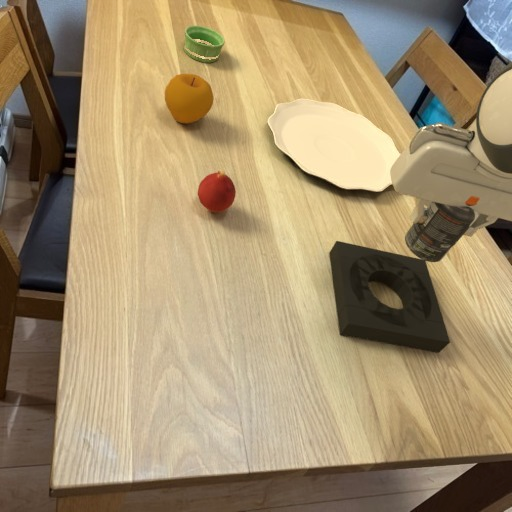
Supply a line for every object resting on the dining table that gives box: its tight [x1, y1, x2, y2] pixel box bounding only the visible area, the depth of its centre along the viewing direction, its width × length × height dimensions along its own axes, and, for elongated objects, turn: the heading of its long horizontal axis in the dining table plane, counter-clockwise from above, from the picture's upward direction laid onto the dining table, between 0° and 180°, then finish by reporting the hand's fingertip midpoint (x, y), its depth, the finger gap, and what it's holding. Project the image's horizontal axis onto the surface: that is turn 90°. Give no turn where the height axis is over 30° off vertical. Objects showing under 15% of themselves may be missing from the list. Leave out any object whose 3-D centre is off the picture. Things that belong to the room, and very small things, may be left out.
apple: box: [164, 73, 215, 124], centre depth 90 cm, size 9×9×9 cm
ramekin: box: [183, 24, 226, 63], centre depth 111 cm, size 9×9×4 cm
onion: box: [197, 170, 237, 213], centre depth 76 cm, size 6×6×8 cm
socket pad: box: [328, 240, 451, 353], centre depth 76 cm, size 16×16×3 cm
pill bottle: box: [404, 196, 480, 263], centre depth 64 cm, size 6×6×11 cm
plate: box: [266, 97, 401, 193], centre depth 101 cm, size 29×29×2 cm
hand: (439, 226), depth 65 cm, fingers closed on pill bottle, 6 cm apart
